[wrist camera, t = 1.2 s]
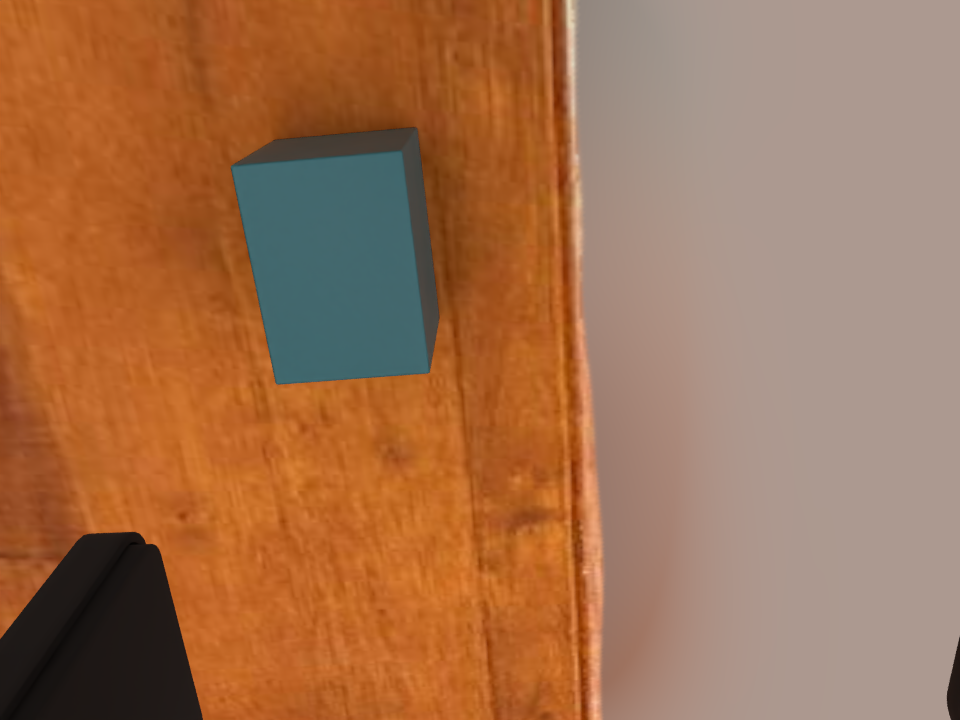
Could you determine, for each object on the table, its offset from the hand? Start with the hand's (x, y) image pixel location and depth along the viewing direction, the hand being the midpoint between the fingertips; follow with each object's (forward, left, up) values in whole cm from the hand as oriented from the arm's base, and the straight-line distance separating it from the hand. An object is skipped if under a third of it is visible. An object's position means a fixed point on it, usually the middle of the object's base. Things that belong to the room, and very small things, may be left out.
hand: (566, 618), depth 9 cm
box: (+4, -4, -21) cm, 22 cm away
